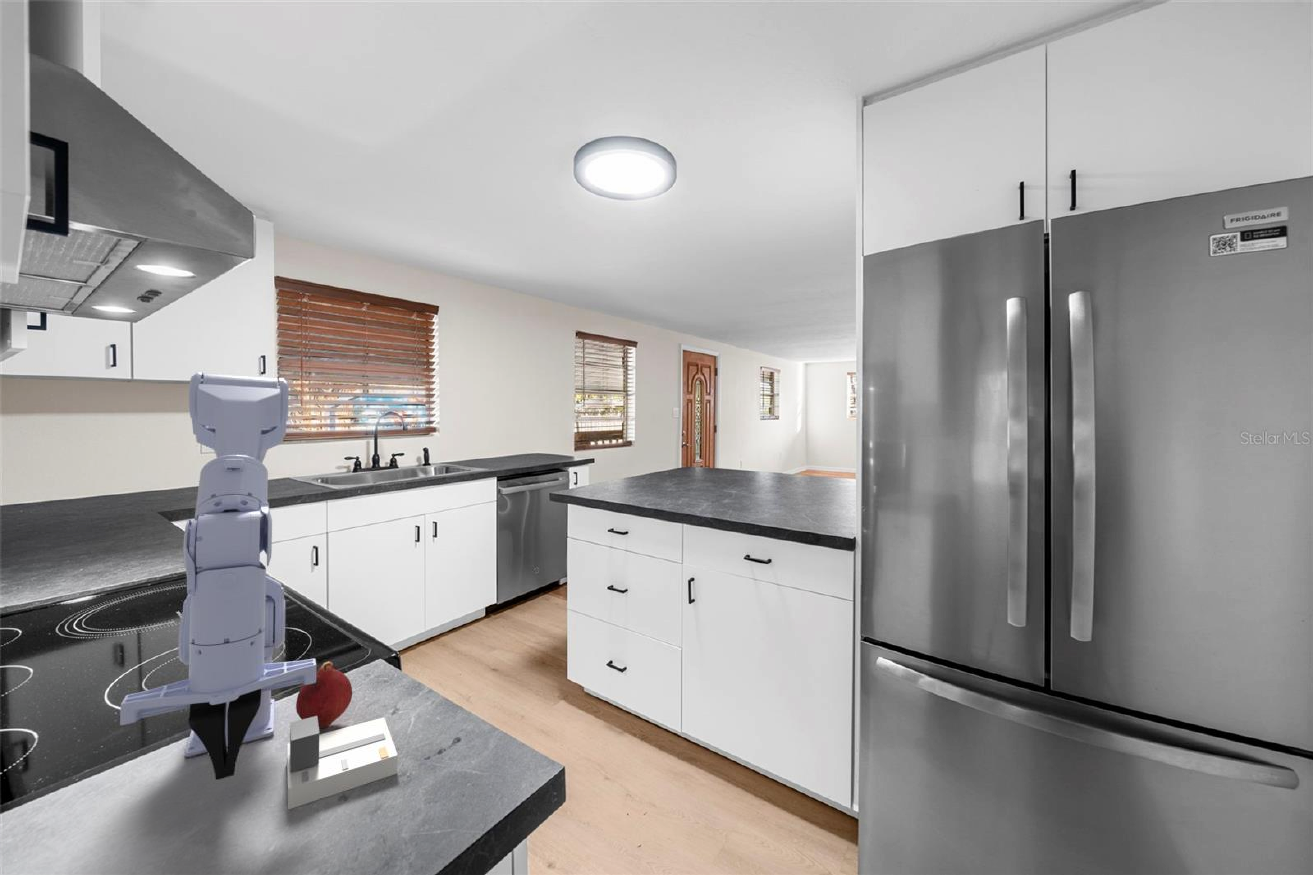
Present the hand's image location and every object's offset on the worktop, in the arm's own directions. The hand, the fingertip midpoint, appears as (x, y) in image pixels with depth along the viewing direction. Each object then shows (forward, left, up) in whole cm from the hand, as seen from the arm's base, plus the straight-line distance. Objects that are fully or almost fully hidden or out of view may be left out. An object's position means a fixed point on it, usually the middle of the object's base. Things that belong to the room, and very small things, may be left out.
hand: (225, 772), depth 51 cm
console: (0, +10, -3) cm, 10 cm away
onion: (-10, +9, -3) cm, 14 cm away
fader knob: (0, +6, -1) cm, 6 cm away
